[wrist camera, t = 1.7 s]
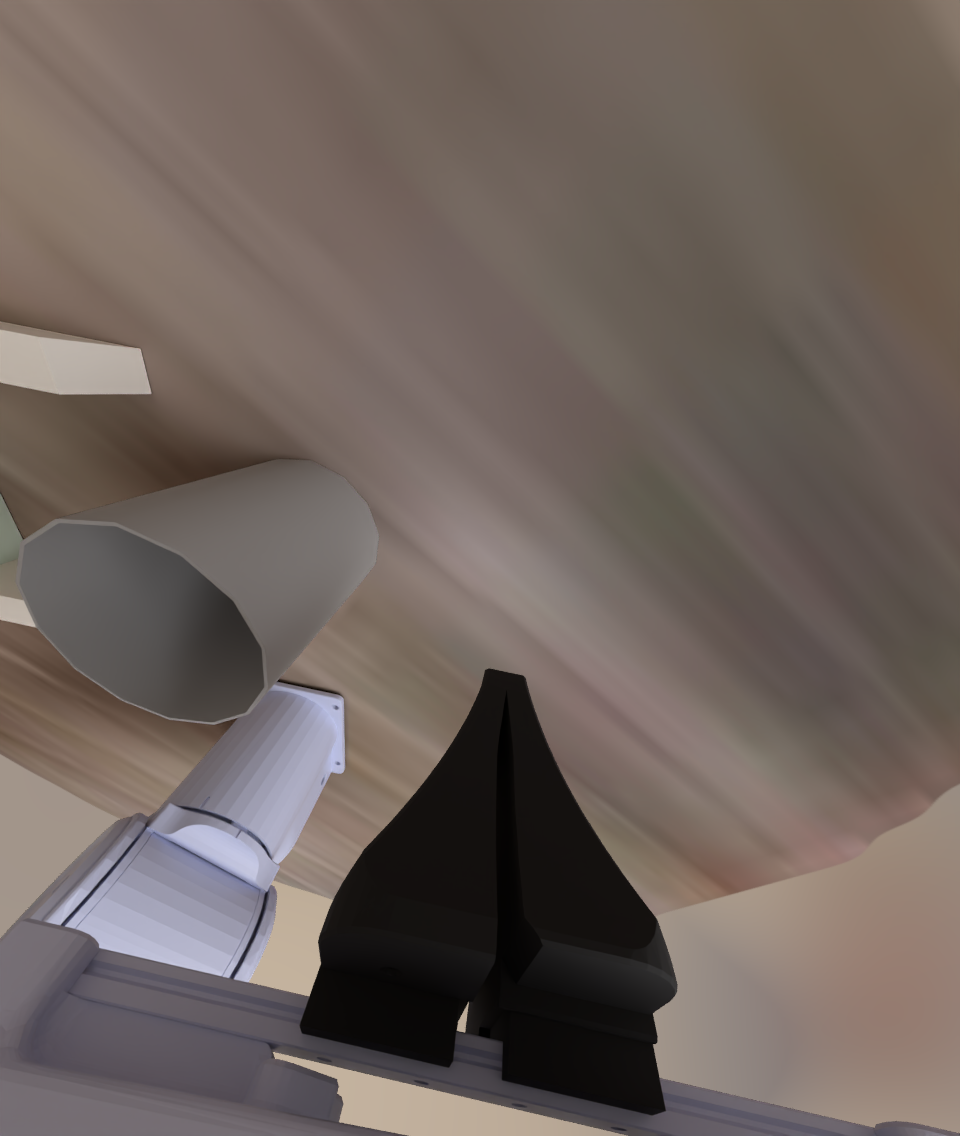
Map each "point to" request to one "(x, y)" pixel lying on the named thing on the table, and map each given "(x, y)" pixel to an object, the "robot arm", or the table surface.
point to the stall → (61, 371)
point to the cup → (200, 585)
